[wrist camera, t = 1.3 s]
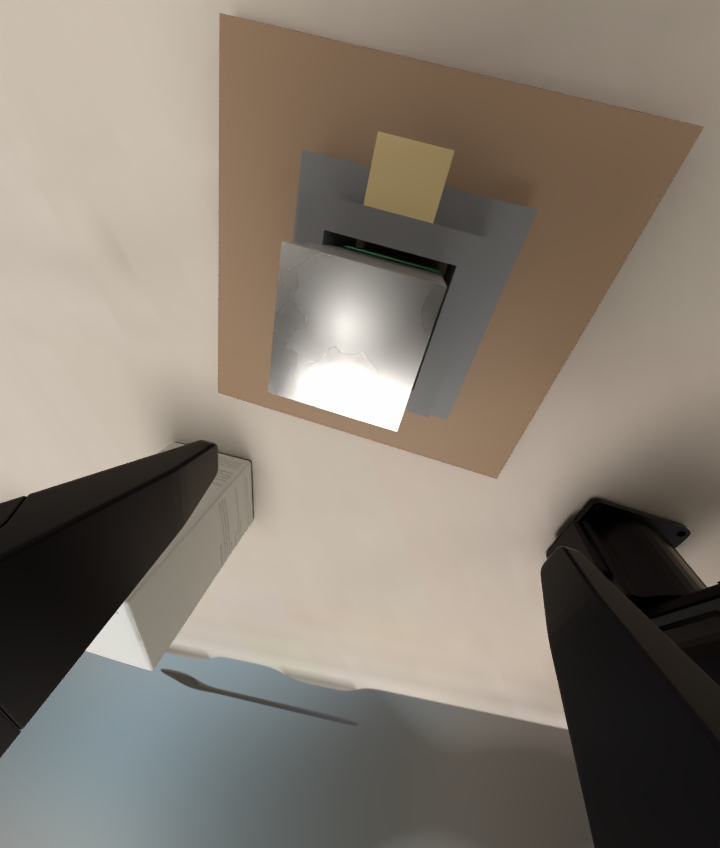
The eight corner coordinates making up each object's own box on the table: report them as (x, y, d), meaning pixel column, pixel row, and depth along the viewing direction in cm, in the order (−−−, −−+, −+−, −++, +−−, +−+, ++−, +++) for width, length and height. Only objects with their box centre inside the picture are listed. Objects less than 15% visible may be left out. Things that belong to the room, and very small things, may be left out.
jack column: (439, 268, 16) (450, 284, 7) (413, 346, 18) (398, 433, 9) (361, 246, 16) (280, 237, 7) (344, 326, 18) (265, 393, 9)
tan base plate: (682, 137, 13) (894, 38, 7) (493, 468, 22) (516, 548, 16) (235, 30, 14) (91, -133, 8) (227, 386, 23) (156, 432, 17)
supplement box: (172, 439, 27) (-5, 565, 16) (253, 460, 26) (127, 606, 15) (182, 502, 31) (44, 641, 20) (254, 522, 30) (152, 677, 19)
